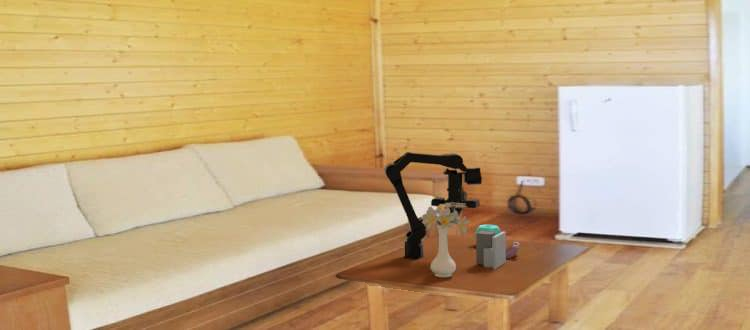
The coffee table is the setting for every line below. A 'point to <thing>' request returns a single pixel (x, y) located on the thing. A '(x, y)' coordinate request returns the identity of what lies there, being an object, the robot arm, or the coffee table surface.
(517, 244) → the video game controller
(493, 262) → the arched bridge stand
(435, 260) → the flower vase
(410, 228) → the robot arm
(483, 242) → the plug
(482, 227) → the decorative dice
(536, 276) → the coffee table surface
